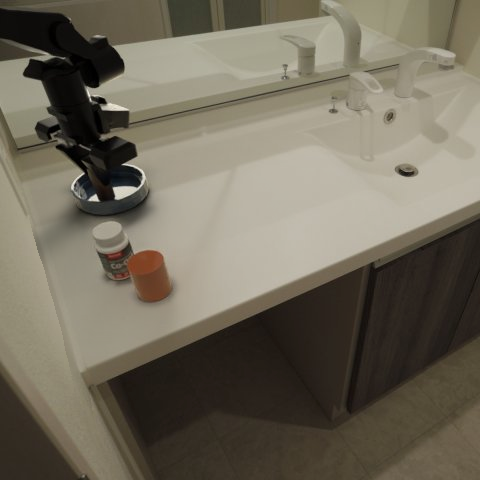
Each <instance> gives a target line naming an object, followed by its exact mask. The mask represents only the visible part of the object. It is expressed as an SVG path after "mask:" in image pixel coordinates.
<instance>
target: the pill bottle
mask: <svg viewBox="0 0 480 480" xmlns="http://www.w3.org/2000/svg"><path fill="white" fill-rule="evenodd" d="M91 234H92V237H93V239H94V250H95V251H96V253H97V256H98V258H99V261H100V262H101V265H102V268H103V270H104V272H105V274H106V276H107V277H108V278H109V279H111V280H113V281H122V280H123V281H124V280H126V279H129V278H131V276H130V273H129V271H128V268H127V263H128V261H129V259H130V258H131V257H132V256H133V255H135V253H134V250H133V248H132V245H131V242H130V238H129V237H128V235H127V234H126V233H125V231H124V229H123V226H122V224H121V223H119V222H117V221H105V222H102V223H99V224H98V225H96V226H95V227H94V228H93V229H92V233H91Z"/></svg>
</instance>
